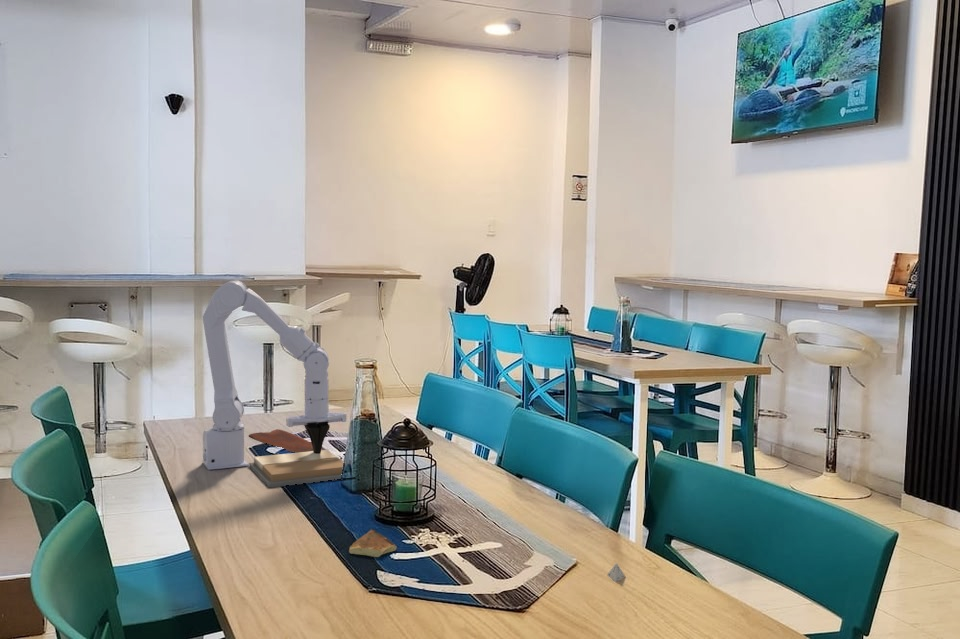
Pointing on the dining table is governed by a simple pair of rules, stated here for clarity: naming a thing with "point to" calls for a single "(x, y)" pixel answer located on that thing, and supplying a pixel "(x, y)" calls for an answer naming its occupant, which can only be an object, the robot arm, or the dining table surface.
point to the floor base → (293, 481)
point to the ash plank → (292, 458)
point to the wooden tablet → (284, 440)
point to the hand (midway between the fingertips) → (316, 452)
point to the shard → (372, 545)
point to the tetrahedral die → (616, 573)
